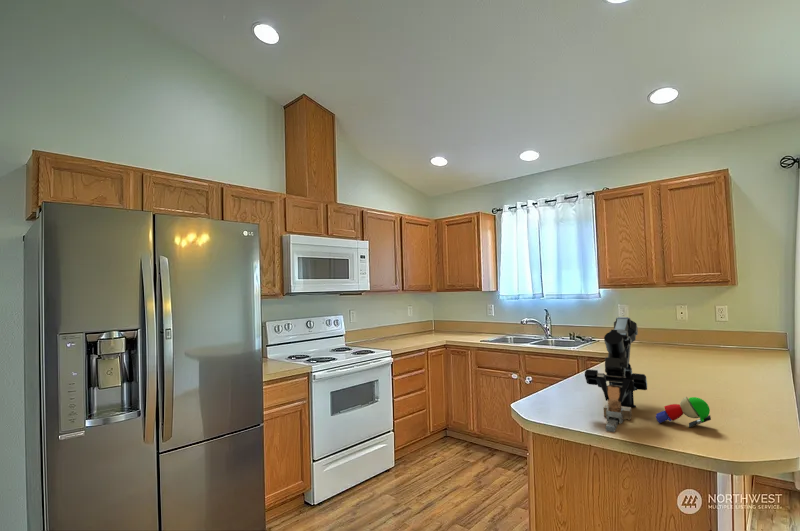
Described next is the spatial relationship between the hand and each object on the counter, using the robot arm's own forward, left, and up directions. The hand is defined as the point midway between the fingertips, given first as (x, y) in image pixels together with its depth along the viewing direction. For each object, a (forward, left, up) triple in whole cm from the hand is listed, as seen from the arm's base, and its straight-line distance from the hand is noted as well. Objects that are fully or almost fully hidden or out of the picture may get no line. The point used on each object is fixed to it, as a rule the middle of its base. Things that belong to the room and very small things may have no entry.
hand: (613, 400), depth 139 cm
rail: (+1, +2, -7) cm, 7 cm away
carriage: (-1, -1, -7) cm, 7 cm away
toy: (-20, +3, -7) cm, 22 cm away
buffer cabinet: (-4, -7, -7) cm, 11 cm away
